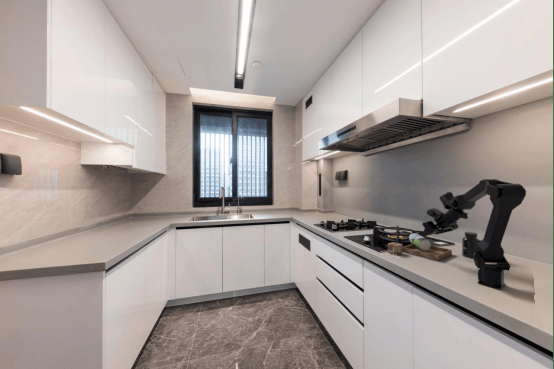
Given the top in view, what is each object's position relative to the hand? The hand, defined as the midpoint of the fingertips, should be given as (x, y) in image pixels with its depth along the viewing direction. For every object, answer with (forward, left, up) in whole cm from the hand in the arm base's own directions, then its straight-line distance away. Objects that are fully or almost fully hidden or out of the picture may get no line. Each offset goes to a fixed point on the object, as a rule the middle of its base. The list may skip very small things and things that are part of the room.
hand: (429, 234), depth 122 cm
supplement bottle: (-13, -13, -10) cm, 21 cm away
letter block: (+12, +11, -10) cm, 19 cm away
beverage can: (+1, +1, -7) cm, 7 cm away
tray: (+2, -1, -10) cm, 10 cm away
